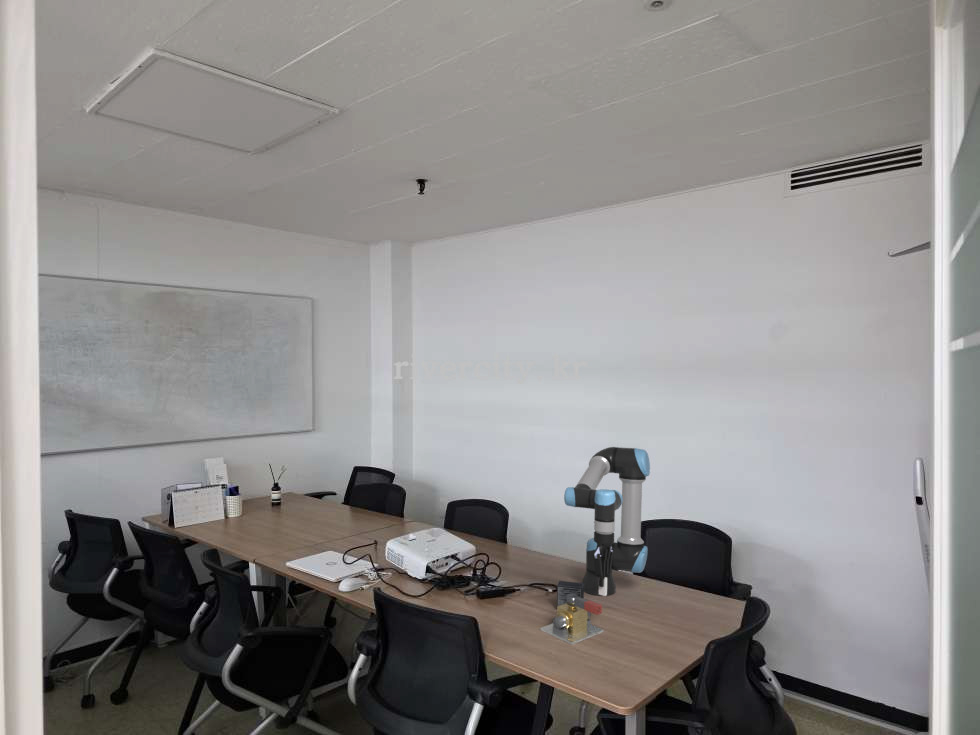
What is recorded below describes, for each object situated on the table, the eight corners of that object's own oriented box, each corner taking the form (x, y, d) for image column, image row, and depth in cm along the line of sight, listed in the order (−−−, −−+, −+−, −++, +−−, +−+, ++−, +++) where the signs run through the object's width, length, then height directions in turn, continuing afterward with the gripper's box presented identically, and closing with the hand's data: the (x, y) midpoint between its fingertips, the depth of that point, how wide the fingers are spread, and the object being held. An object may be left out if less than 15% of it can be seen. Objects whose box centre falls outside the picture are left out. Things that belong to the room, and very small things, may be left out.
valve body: (571, 618, 249) (572, 593, 249) (603, 631, 237) (604, 605, 237) (540, 630, 238) (540, 603, 238) (571, 644, 225) (572, 617, 225)
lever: (564, 603, 238) (564, 595, 238) (571, 600, 241) (572, 592, 241) (595, 615, 226) (595, 607, 226) (603, 612, 229) (603, 604, 229)
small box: (584, 607, 261) (584, 582, 261) (582, 613, 255) (582, 587, 255) (558, 604, 264) (559, 579, 264) (556, 610, 258) (556, 584, 258)
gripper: (603, 526, 242) (602, 588, 242) (586, 533, 232) (585, 596, 232) (621, 530, 237) (619, 592, 237) (604, 536, 227) (603, 601, 227)
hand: (602, 594), depth 234 cm, fingers closed
